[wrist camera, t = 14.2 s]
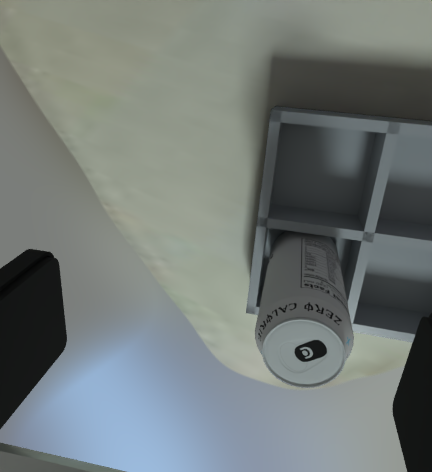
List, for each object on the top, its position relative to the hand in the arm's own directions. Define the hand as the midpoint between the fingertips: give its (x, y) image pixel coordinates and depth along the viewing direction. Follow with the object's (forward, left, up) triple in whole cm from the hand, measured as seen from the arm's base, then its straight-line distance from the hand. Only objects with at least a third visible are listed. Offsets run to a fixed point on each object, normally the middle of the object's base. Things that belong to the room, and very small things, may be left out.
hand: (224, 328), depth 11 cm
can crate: (+5, +8, -27) cm, 29 cm away
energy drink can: (+9, +3, -27) cm, 28 cm away
